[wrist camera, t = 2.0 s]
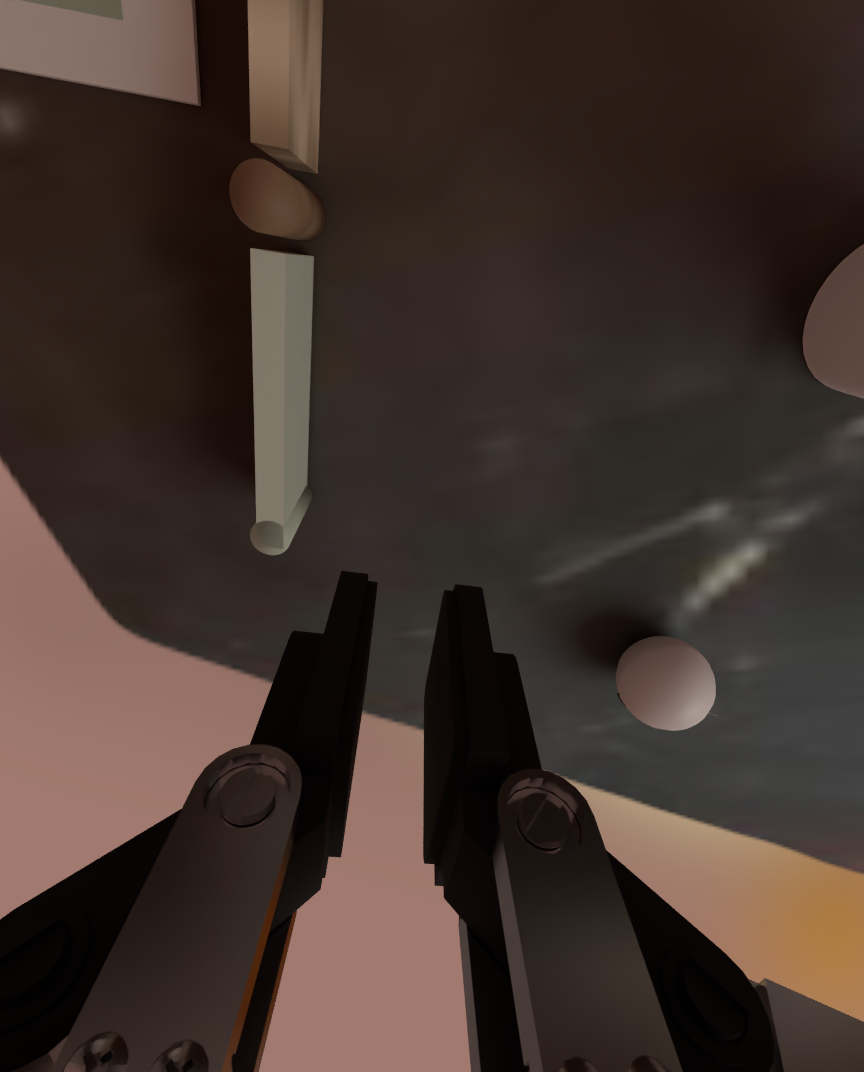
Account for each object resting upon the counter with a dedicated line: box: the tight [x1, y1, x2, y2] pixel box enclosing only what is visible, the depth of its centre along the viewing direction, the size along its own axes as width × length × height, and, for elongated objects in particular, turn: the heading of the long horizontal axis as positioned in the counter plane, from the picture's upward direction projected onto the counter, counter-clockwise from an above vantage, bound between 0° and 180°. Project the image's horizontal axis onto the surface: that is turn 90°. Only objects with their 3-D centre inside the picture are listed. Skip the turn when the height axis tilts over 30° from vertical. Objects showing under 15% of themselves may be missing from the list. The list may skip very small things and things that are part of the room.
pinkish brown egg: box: [615, 636, 717, 731], centre depth 31 cm, size 8×6×6 cm
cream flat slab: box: [250, 248, 314, 555], centre depth 22 cm, size 12×2×5 cm, turn 172°
